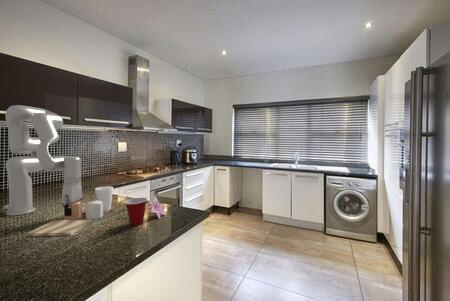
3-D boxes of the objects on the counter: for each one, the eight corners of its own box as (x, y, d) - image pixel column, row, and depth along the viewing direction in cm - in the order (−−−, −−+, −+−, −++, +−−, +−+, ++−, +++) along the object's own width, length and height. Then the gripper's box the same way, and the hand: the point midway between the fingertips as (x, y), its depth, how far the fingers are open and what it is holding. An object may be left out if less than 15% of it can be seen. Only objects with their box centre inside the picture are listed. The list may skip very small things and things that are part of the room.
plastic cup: (128, 219, 113) (128, 196, 113) (150, 219, 114) (150, 196, 114) (120, 227, 102) (120, 202, 102) (144, 227, 103) (144, 202, 103)
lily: (147, 223, 111) (156, 207, 110) (137, 210, 118) (146, 195, 118) (165, 224, 120) (173, 209, 120) (154, 211, 127) (163, 197, 127)
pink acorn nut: (61, 220, 112) (60, 204, 111) (70, 215, 119) (70, 200, 119) (76, 219, 112) (75, 204, 112) (84, 215, 120) (84, 200, 119)
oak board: (26, 236, 92) (26, 233, 92) (53, 222, 108) (53, 220, 108) (71, 235, 94) (71, 232, 93) (91, 221, 109) (91, 219, 109)
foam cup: (105, 212, 124) (105, 190, 123) (91, 211, 125) (91, 189, 125) (116, 207, 133) (116, 186, 132) (103, 206, 135) (103, 186, 134)
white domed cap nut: (83, 219, 112) (83, 204, 112) (91, 214, 120) (91, 200, 119) (98, 219, 113) (98, 204, 113) (105, 214, 120) (104, 200, 120)
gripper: (75, 177, 123) (75, 208, 124) (53, 183, 106) (54, 219, 107) (89, 177, 124) (89, 208, 124) (69, 183, 106) (70, 218, 107)
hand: (73, 212), depth 115 cm, fingers open, 7 cm apart
